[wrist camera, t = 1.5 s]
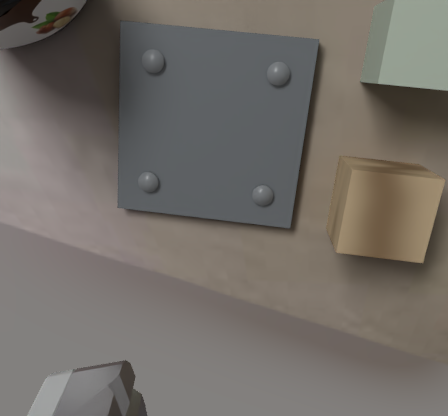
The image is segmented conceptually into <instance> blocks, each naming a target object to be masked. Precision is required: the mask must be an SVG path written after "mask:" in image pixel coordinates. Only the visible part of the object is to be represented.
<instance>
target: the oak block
mask: <svg viewBox="0 0 448 416" xmlns="http://www.w3.org/2000/svg"><path fill="white" fill-rule="evenodd" d="M444 183H445V179H443V178H441V177H440V176H438V175H436V174H434V173H433V172H431V171H429V170H428V169H426V168H424V167H423V166H421V165H419V164H411V163H402V162H393V161H384V160H375V159H366V158H356V157H347V156H339V161H338V167H337V172H336V178H335V183H334V189H333V194H332V199H331V205H330V210H329V216H328V221H327V227H326V229H327V231H328V234H329V236H330V239H331V241H332V244H333V246H334V249H335V251H336V253H343V254H351V255H359V256H368V257H376V258H384V259H392V260H401V261H409V262H417V263H423V261H424V257H425V254H426V250H427V246H428V243H429V239H430V235H431V231H432V228H433V224H434V220H435V217H436V213H437V209H438V206H439V202H440V198H441V194H442V191H443V187H444Z"/></svg>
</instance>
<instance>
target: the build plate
mask: <svg viewBox="0 0 448 416" xmlns="http://www.w3.org/2000/svg"><path fill="white" fill-rule="evenodd" d="M318 45H319V39H310V38H299V37H288V36H278V35H267V34H257V33H246V32H236V31H225V30H214V29H204V28H193V27H183V26H172V25H161V24H151V23H140V22H130V21H120V82H119V149H118V208H124V209H132V210H141V211H149V212H157V213H166V214H174V215H182V216H191V217H199V218H208V219H216V220H224V221H233V222H241V223H250V224H258V225H266V226H275V227H283V228H290V226H291V219H292V213H293V206H294V200H295V194H296V187H297V181H298V174H299V168H300V161H301V155H302V148H303V142H304V135H305V129H306V122H307V116H308V109H309V103H310V96H311V90H312V83H313V77H314V71H315V64H316V58H317V51H318Z"/></svg>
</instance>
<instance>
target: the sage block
mask: <svg viewBox="0 0 448 416" xmlns="http://www.w3.org/2000/svg"><path fill="white" fill-rule="evenodd" d="M360 82H366V83H375V84H385V85H395V86H406V87H416V88H426V89H436V90H446V91H448V0H385V1H383V2H381V3H380V4H378V5H376V6H374V11H373V16H372V22H371V27H370V32H369V38H368V43H367V48H366V54H365V59H364V64H363V69H362V75H361V80H360Z"/></svg>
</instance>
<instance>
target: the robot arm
mask: <svg viewBox="0 0 448 416" xmlns="http://www.w3.org/2000/svg"><path fill="white" fill-rule="evenodd" d="M134 381H135V374H134V371H133V369H132V367H131V364H130V363H129V362H128V361H126V360H125V361H119V362H113V363H108V364H101V365H96V366H90V367H83V368H77V369H73V370H68V371H62V372H56V373H52V374H51V375H49V376H48V377H46V379H45V381H44V383H43V385H42V387H41V389H40V391H39V393H38V395H37V397H36V399H35V401H34V403H33V405H32V407H31V409H30V411H29V413H28V415H27V416H147V412H146V407H145V403H144V400H143V397H142V394H141V393H139V392H138V391H136V390H135V389H133V386H134Z"/></svg>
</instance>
